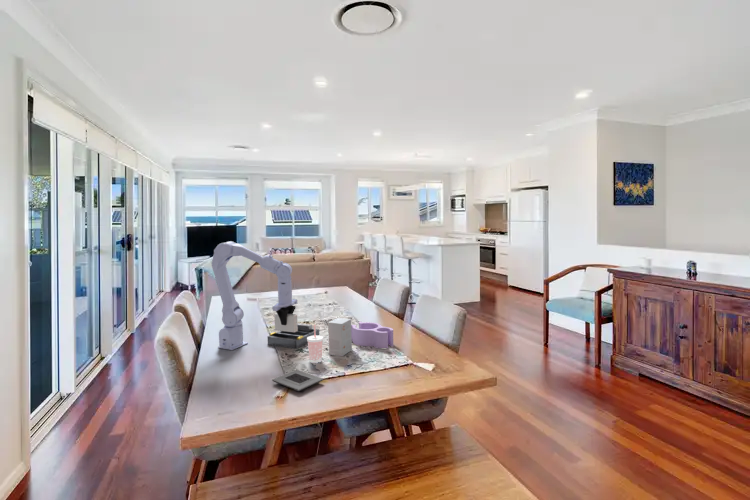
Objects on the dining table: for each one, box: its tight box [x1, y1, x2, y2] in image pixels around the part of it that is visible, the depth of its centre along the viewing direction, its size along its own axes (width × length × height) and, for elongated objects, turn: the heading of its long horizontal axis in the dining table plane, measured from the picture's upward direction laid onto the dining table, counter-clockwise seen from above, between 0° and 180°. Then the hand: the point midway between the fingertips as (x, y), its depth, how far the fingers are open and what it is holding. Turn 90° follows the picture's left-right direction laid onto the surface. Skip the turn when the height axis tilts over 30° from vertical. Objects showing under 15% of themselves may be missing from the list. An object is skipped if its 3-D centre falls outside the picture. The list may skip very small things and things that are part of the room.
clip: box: [351, 321, 394, 349], centre depth 175 cm, size 20×12×7 cm, turn 51°
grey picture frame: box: [271, 369, 324, 392], centre depth 134 cm, size 13×10×2 cm
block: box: [273, 312, 298, 332], centre depth 173 cm, size 2×10×7 cm, turn 65°
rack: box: [267, 322, 320, 350], centre depth 179 cm, size 17×15×6 cm
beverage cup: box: [307, 324, 324, 364], centre depth 154 cm, size 6×6×14 cm
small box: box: [327, 317, 353, 357], centre depth 163 cm, size 8×6×13 cm
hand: (286, 324), depth 173 cm, fingers closed on block, 2 cm apart
